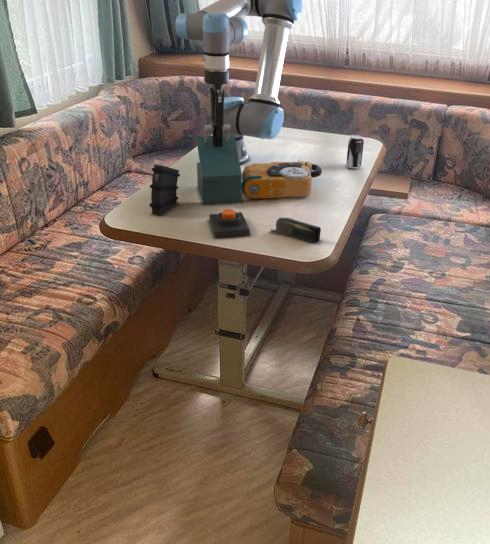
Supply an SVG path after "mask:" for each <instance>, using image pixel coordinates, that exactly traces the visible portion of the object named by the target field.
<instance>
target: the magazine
mask: <svg viewBox="0 0 490 544" xmlns="http://www.w3.org/2000/svg"><path fill="white" fill-rule="evenodd" d="M151 171H152V177H151V179H152V180H151V184H150V185H149V188H150V189H151V195H150V197H151V199H150V200H151V202H150V203H149V208H151V215H154V216H160V217H161V216H162V215H164V214H165V213H166V212H168V211H169V210H171V209H172V208H173V207H175V206H176V205H177V204H178V200H179V196H177V195H178V194H177V192H178V191H177V190H178V189H179V188H180V186H178V179H179V178H180V177H181V173H180V169H177V168H173V167H169V166H165V165H161V164H154V165H153V167H152V168H151Z"/></svg>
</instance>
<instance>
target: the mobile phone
mask: <svg viewBox="0 0 490 544" xmlns="http://www.w3.org/2000/svg"><path fill="white" fill-rule="evenodd" d="M321 230H322V228H321V227H320V226H317V225H314V224H310V223H307V222H303V221H300V220H297V219H294V218H292V217H291V218H290V217H279V218H278V219H277V220H276V221H275V229H270V232H271V233H276V234H280V235H284V236H287V237H291V238H294V239H297V240H301V241H305V242H309V243H312V244H313V243H318V242H319V241H320V240H321V232H322V231H321Z"/></svg>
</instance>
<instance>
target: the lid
mask: <svg viewBox="0 0 490 544" xmlns="http://www.w3.org/2000/svg"><path fill="white" fill-rule="evenodd" d="M230 130H231V127H230V124H225V125H223V127H222V131H227V135H223V147H214V144H213V135H208V133H209V132H212V131H214V127H212V124H205V125H204V135H200V136H196V137H195V139H196V147H197V153H198V159H199V162H200V166H201V173H202V179H204V178H222V177H242V173H243V172H242V168H241V164H240V162H239V157H238V152H237V147H236V142H235V136H234V135H229V131H230Z"/></svg>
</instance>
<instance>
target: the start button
mask: <svg viewBox="0 0 490 544" xmlns="http://www.w3.org/2000/svg"><path fill="white" fill-rule="evenodd" d="M221 212H222V218H224V219H234V218H235V217H236V212H237V211H236V210H235V209H233V208H225V209H223V210H221Z"/></svg>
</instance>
